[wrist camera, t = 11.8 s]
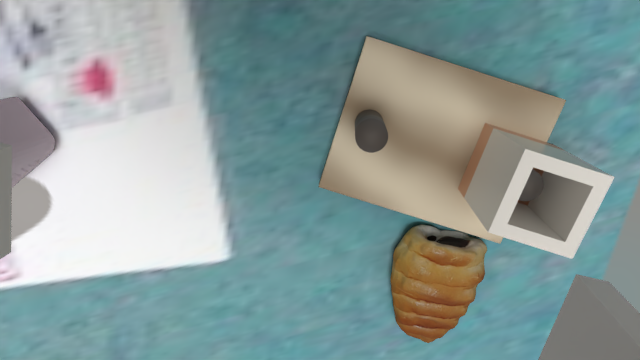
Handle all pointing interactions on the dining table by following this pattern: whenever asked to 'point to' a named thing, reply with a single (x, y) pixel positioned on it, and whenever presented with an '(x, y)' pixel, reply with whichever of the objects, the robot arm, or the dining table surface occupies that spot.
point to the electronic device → (23, 137)
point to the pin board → (426, 133)
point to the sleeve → (542, 212)
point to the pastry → (434, 279)
